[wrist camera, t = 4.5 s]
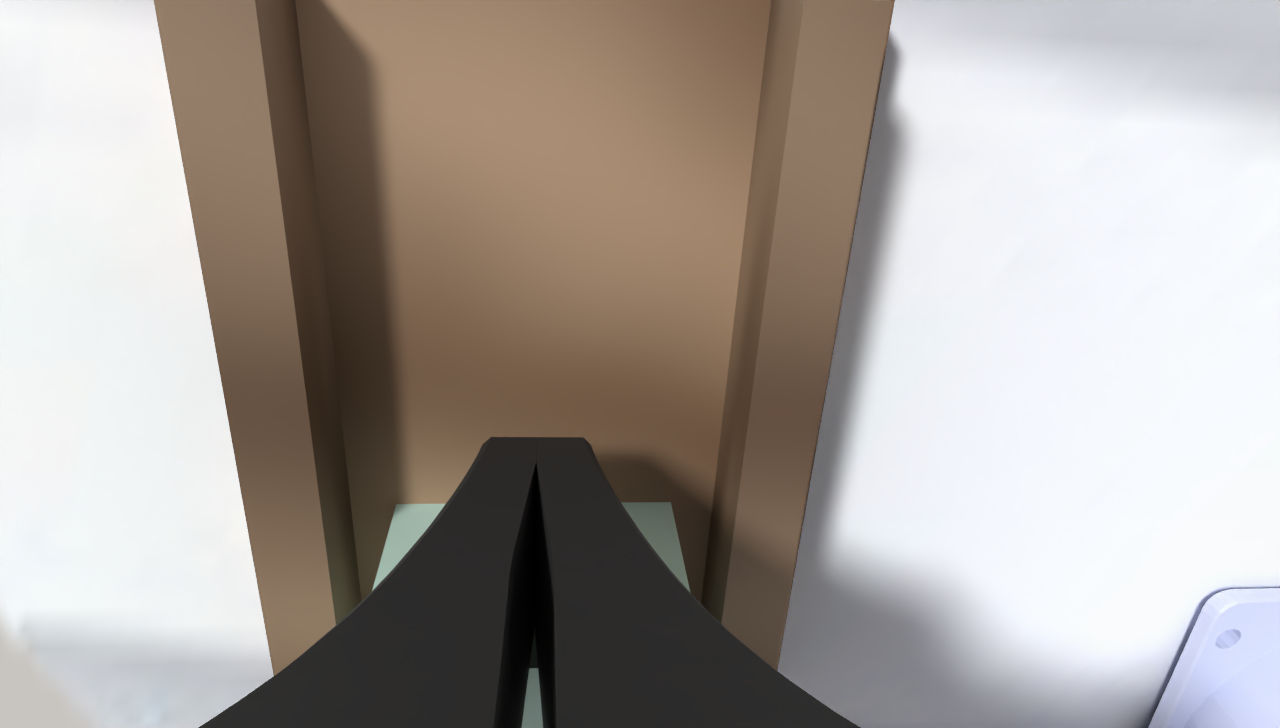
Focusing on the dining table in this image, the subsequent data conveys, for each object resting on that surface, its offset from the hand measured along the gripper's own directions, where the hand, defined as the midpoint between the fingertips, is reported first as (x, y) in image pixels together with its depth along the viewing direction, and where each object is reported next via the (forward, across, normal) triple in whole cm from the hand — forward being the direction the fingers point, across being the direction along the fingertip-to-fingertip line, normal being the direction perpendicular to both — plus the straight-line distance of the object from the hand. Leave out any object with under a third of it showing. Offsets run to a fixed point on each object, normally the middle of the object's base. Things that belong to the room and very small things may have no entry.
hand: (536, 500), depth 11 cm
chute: (+3, 0, 0) cm, 3 cm away
